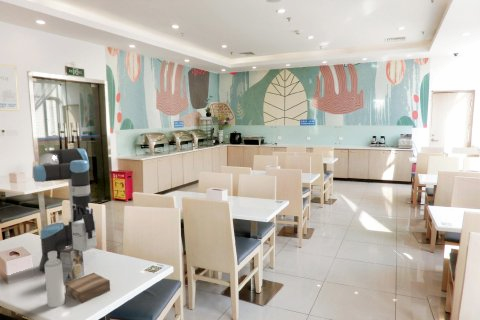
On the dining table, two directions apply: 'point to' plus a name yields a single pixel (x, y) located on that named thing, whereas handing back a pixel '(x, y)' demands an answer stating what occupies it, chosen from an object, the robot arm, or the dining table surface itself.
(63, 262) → the coffee box
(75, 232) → the supplement box
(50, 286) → the white bottle
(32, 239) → the dining table surface
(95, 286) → the walnut block
